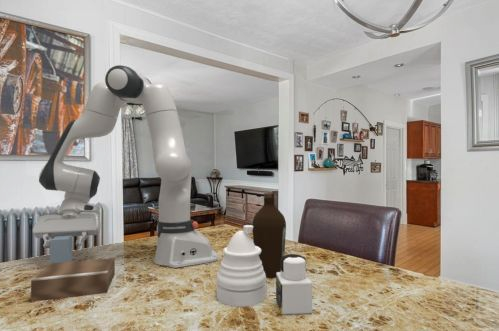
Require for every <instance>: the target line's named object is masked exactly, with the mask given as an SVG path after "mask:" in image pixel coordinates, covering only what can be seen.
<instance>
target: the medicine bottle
mask: <svg viewBox="0 0 499 331" xmlns="http://www.w3.org/2000/svg"><path fill="white" fill-rule="evenodd" d="M275 283H276V284H275V300H276V304H277V306H278V309H279V311H280V313H281V315H302V314H303V315H304V314H307V315H308V314H313V281H312V280H311V279H310V278H309V277H308V275H307V259H306V257H305V256H303V255H301V254H296V253H287V254H285V255H284V256H282V257H281V272H277V273H276V277H275Z"/></svg>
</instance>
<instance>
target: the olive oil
mask: <svg viewBox="0 0 499 331" xmlns="http://www.w3.org/2000/svg"><path fill="white" fill-rule="evenodd" d="M263 193H264V194H263V195H264V197H263V205H262V207H261V208H260V209H259V210H258V211H257V212H256V213H255V214H254V216H253V219H252V226H253V230H252V241H253V243H254V245H255V246H257V247H259V248H261V253H260V254H259V258H260V260H261V261H262V266H263V269H264V272H265V274H266V278H276V273H277V272H281V257H282V256H284V255H286V253H285V252H286V250H285V249H286V237H287V236H286V235H287V222H286V219H285V216H284V214H283V213H282V212H281V211H280V210H279V209H278V208H277V206H276V205H275V193H274V192H263Z"/></svg>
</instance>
